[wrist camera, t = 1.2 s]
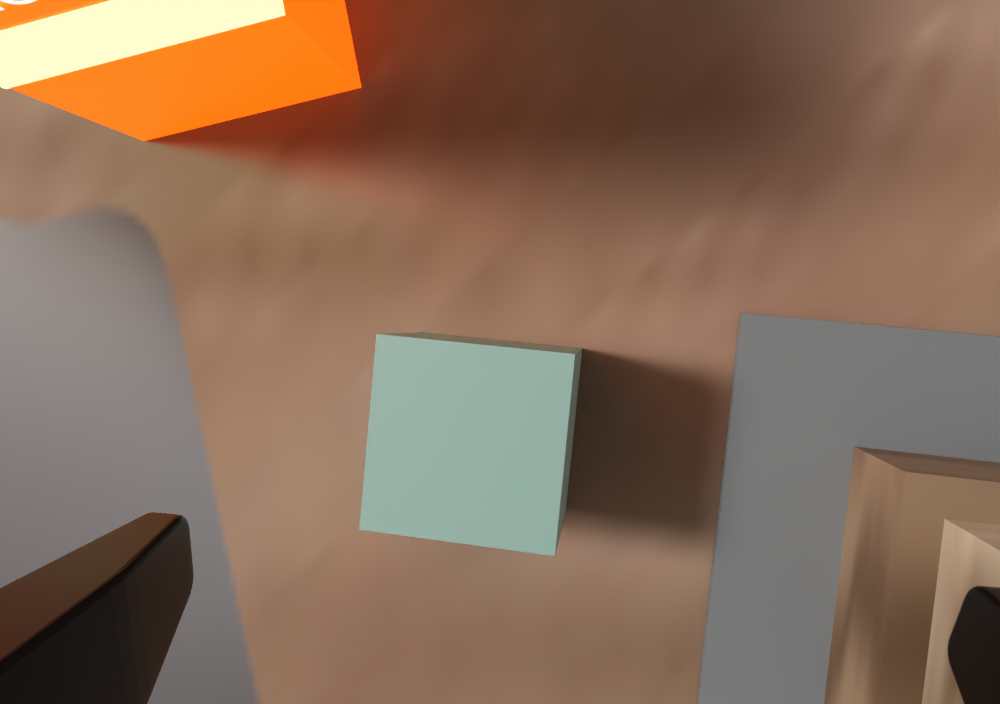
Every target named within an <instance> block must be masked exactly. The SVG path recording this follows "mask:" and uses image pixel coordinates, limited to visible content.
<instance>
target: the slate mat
mask: <svg viewBox="0 0 1000 704" xmlns="http://www.w3.org/2000/svg"><path fill="white" fill-rule="evenodd" d="M854 446H855V447H864V448H873V449H882V450H891V451H900V452H908V453H917V454H926V455H935V456H944V457H953V458H962V459H971V460H980V461H989V462H998V463H1000V337H997V336H987V335H976V334H965V333H954V332H943V331H932V330H921V329H910V328H900V327H889V326H878V325H867V324H856V323H845V322H834V321H823V320H812V319H802V318H791V317H780V316H769V315H758V314H747V313H740V316H739V325H738V334H737V344H736V353H735V362H734V371H733V380H732V389H731V398H730V407H729V417H728V426H727V435H726V444H725V453H724V462H723V471H722V480H721V490H720V499H719V508H718V517H717V526H716V535H715V544H714V553H713V562H712V572H711V581H710V590H709V599H708V608H707V617H706V626H705V635H704V645H703V654H702V663H701V672H700V681H699V690H698V699H697V704H824V700H825V691H826V682H827V674H828V665H829V657H830V648H831V640H832V631H833V623H834V614H835V606H836V597H837V589H838V580H839V572H840V563H841V554H842V546H843V537H844V529H845V520H846V512H847V503H848V495H849V486H850V478H851V469H852V461H853V452H854Z"/></svg>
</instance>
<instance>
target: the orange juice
mask: <svg viewBox="0 0 1000 704" xmlns="http://www.w3.org/2000/svg"><path fill="white" fill-rule="evenodd" d="M0 87H2V88H4V89H8V88H10V89H13V90H15V91H18V92H20V93H23V94H26V95H28V96H31V97H33V98H36V99H38V100H41V101H43V102H46V103H48V104H51V105H54V106H56V107H59V108H61V109H64V110H66V111H69V112H71V113H74V114H76V115H79V116H82V117H84V118H87V119H89V120H92V121H94V122H97V123H99V124H102V125H104V126H107V127H110V128H112V129H115V130H117V131H120V132H122V133H125V134H127V135H130V136H132V137H135V138H138V139H140V140H143V141H147V140H151V139H155V138H159V137H163V136H167V135H171V134H175V133H179V132H184V131H188V130H192V129H196V128H200V127H204V126H208V125H212V124H216V123H220V122H224V121H228V120H232V119H236V118H240V117H244V116H248V115H252V114H257V113H261V112H265V111H269V110H273V109H277V108H281V107H285V106H289V105H293V104H297V103H301V102H305V101H309V100H313V99H317V98H321V97H325V96H330V95H334V94H338V93H342V92H346V91H350V90H354V89H358V88H362V87H361V82H360V77H359V72H358V67H357V62H356V56H355V51H354V46H353V41H352V36H351V31H350V25H349V20H348V15H347V10H346V5H345V0H0Z"/></svg>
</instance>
